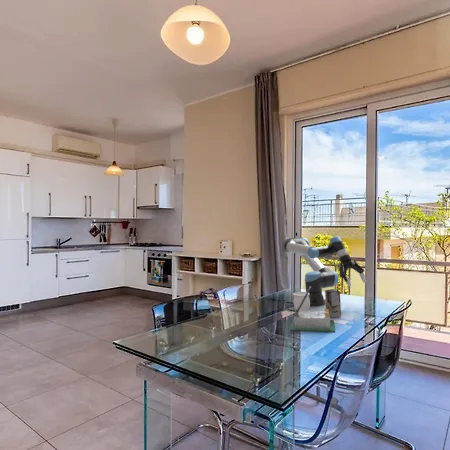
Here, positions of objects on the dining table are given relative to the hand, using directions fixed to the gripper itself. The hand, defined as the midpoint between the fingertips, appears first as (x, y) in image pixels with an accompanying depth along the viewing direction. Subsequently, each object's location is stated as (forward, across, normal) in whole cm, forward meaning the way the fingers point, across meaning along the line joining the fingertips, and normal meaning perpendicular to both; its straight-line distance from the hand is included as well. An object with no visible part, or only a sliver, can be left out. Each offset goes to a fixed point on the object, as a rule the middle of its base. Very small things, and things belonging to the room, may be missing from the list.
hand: (357, 284), depth 239 cm
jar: (+9, -42, +15) cm, 45 cm away
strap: (+5, -52, -9) cm, 53 cm away
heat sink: (+19, -49, -4) cm, 53 cm away
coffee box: (+15, -24, +7) cm, 29 cm away
